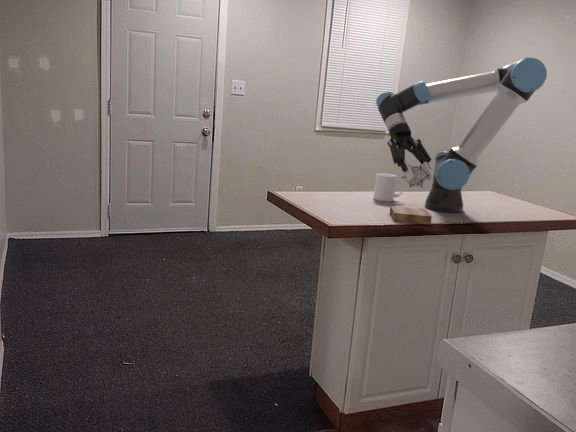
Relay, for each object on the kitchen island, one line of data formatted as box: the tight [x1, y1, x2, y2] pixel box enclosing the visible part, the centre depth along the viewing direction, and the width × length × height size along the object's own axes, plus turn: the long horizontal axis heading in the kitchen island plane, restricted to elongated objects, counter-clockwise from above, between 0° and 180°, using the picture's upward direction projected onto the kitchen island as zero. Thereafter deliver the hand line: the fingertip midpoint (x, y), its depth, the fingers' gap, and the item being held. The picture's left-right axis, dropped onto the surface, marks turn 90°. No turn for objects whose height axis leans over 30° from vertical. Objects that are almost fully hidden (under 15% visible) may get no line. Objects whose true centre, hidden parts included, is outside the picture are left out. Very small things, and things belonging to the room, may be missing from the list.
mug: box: [373, 172, 404, 202], centre depth 224 cm, size 9×12×11 cm
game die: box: [401, 164, 429, 188], centre depth 189 cm, size 9×8×10 cm
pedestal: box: [388, 205, 433, 225], centre depth 192 cm, size 13×12×3 cm
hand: (420, 178), depth 186 cm, fingers closed on game die, 8 cm apart
